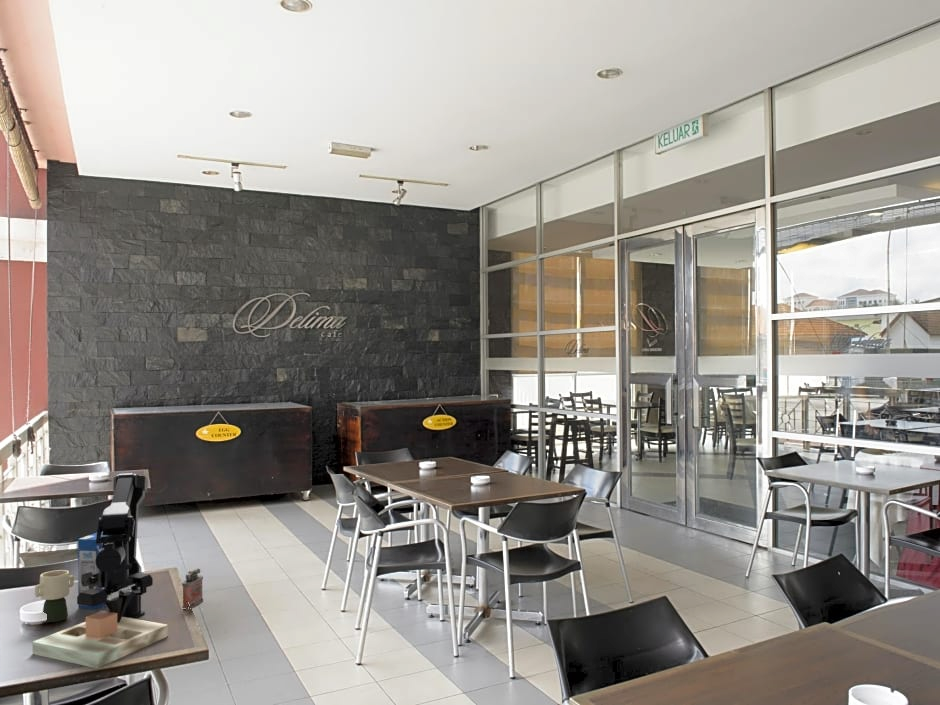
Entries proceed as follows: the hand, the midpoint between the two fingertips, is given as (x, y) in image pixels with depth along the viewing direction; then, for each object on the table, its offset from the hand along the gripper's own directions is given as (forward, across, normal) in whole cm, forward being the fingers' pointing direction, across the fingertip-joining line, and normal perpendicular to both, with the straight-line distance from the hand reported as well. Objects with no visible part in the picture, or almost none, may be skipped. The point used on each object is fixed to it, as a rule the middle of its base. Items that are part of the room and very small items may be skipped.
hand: (116, 622), depth 187 cm
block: (+1, +4, 0) cm, 5 cm away
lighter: (+4, -27, -1) cm, 28 cm away
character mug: (+4, -4, -27) cm, 28 cm away
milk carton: (+4, -18, -28) cm, 34 cm away
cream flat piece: (+4, +4, 0) cm, 6 cm away
